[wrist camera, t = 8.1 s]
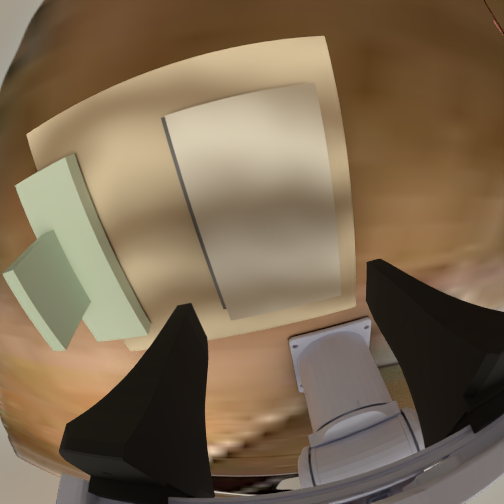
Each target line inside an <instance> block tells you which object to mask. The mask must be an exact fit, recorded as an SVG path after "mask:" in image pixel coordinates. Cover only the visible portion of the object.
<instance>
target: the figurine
mask: <svg viewBox="0 0 504 504" xmlns="http://www.w3.org/2000/svg"><path fill="white" fill-rule="evenodd" d="M484 2H485V0H484ZM485 4H486V2H485ZM486 5H487V4H486ZM487 7H488V5H487ZM488 9H489V7H488ZM489 10H490V9H489ZM490 12H491V10H490ZM491 14H492V12H491ZM492 15H493V14H492ZM493 17H494V15H493ZM494 19H495V17H494ZM495 21H496V22H497V20H496V19H495ZM495 21H494V23H495ZM495 24H496V23H495ZM497 24H498V22H497ZM497 24H496V26H497ZM498 25H499V24H498ZM497 27H498V26H497ZM499 27H500V25H499ZM500 28H501V27H500ZM498 29H499V28H498ZM499 30H500V29H499ZM501 30H502V28H501ZM502 32H503V30H502ZM503 33H504V32H503Z"/></svg>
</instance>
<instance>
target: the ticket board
mask: <svg viewBox="0 0 504 504" xmlns="http://www.w3.org/2000/svg"><path fill="white" fill-rule="evenodd" d="M26 135H27V138H28V142H29V145H30V149H31V152H32V155H33V159H34V162H35V165H36V168H37V171H38V172H39V171H41V170H42V169H44V168H46V167H48V166H50V165H51V164H53V163H55V162H57V161H59V160H61V159H63V158H65V157H67V156H69V155H72V154H75V157H76V160H77V163H78V166H79V169H80V172H81V174H82V177H83V180H84V183H85V186H86V188H87V191H88V194H89V196H90V199H91V201H92V204H93V206H94V209H95V211H96V214H97V216H98V219H99V221H100V223H101V226H102V228H103V230H104V233H105V235H106V237H107V239H108V242H109V244H110V246H111V248H112V250H113V253H114V255H115V257H116V259H117V261H118V263H119V265H120V267H121V269H122V271H123V273H124V275H125V277H126V279H127V281H128V283H129V285H130V287H131V289H132V291H133V293H134V295H135V297H136V298H137V300H138V302H139V304H140V306H141V308H142V310H143V311H144V313H145V315H146V317H147V318H148V320H149V322H150V324H151V327H150V330H149V334H148V335H146V336H139V337H132V338H124V339H122V340H123V341H124V343H125V344H126V346H127V347H128V349H129V350H130V351H138V350H147V349H148V348H149V347H150V346H151V344H152V343H153V341H154V340H155V338H156V337H157V335H158V334H159V332H160V331H161V329H162V328H163V327H164V325H165V323H166V322H167V320H168V319H169V317H170V316H171V314H172V313H173V311H174V310H175V308H176V307H177V305H182V304H187V303H192V305H193V308H194V310H195V312H196V314H197V316H198V319H199V321H200V323H201V325H202V327H203V329H204V332H205V334H206V336H207V340H213V339H218V338H224V337H229V336H234V335H240V334H245V333H250V332H255V331H259V330H264V329H269V328H273V327H278V326H282V325H287V324H291V323H295V322H299V321H303V320H307V319H312V318H316V317H319V316H323V315H327V314H331V313H335V312H338V311H342V310H346V309H349V308H353V307H356V262H355V237H354V221H353V207H352V195H351V185H350V175H349V166H348V158H347V150H346V143H345V136H344V129H343V123H342V117H341V111H340V105H339V100H338V95H337V89H336V84H335V79H334V75H333V70H332V66H331V61H330V57H329V53H328V49H327V45H326V41H325V37H324V36H314V37H301V38H291V39H282V40H275V41H268V42H261V43H255V44H249V45H244V46H239V47H234V48H229V49H225V50H220V51H216V52H212V53H208V54H204V55H200V56H197V57H193V58H190V59H186V60H183V61H180V62H176V63H173V64H170V65H167V66H164V67H161V68H158V69H155V70H153V71H150V72H147V73H145V74H142V75H139V76H137V77H134V78H132V79H129V80H127V81H124V82H122V83H120V84H117V85H115V86H113V87H111V88H108V89H106V90H104V91H102V92H100V93H98V94H96V95H94V96H92V97H90V98H88V99H86V100H84V101H82V102H80V103H78V104H76V105H74V106H72V107H71V108H69V109H67V110H65V111H63V112H62V113H60V114H58V115H56V116H55V117H53V118H51V119H50V120H48V121H46V122H45V123H43V124H42V125H40V126H39V127H37V128H35V129H34V130H32V131H31V132H29V133H28V134H26Z"/></svg>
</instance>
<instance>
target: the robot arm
mask: <svg viewBox="0 0 504 504" xmlns="http://www.w3.org/2000/svg"><path fill="white" fill-rule="evenodd" d="M366 302H367V304H368V306H369V309H370V311H371V314H372V316H373V318H374V320H375V322H376V324H377V326H378V327H379V329H380V331H381V332H382V334H383V336H384V338H385V339H386V341H387V343H388V344H389V346H390V348H391V350H392V351H393V353H394V355H395V357H396V359H397V360H398V362H399V365H400V367H401V369H402V371H403V374H404V376H405V379H406V382H407V384H408V387H409V390H410V393H411V396H412V398H413V401H414V405H415V408H416V410H414V409H411V408H409V407H404V408H402V409H399V407H398V404H397V402H396V401H392V399H391V396H390V394H389V392H388V390H387V387H386V385H385V383H384V381H383V378H382V376H381V374H380V372H379V370H378V367H377V365H376V363H375V361H374V359H373V357H372V355H371V352H370V350H369V343H370V333H371V319H370V318H368V317H367V318H363V319H359V320H356V321H352V322H349V323H345V324H342V325H338V326H334V327H331V328H327V329H323V330H319V331H315V332H311V333H307V334H303V335H299V336H295V337H292V338H290V339H289V346H290V351H291V355H292V360H293V365H294V370H295V375H296V380H297V385H298V390H299V392H304V394H305V399H306V403H307V407H308V412H309V416H310V420H311V425H312V429H313V434H310V435H309V436H308V437H309V442H310V446H306V447H304V448H303V450H302V453H301V454H300V456H299V459H298V473H299V479H300V483H301V486H302V489H299V490H292V491H286V492H280V493H273V494H265V495H256V496H245V497H229V498H214V497H215V494H214V489H213V484H212V478H211V472H210V465H209V458H208V450H207V439H206V426H205V397H206V384H207V371H208V342H207V336H206V334H205V332H204V329H203V327H202V325H201V323H200V321H199V319H198V316H197V314H196V312H195V310H194V308H193V305H192V303H187V304H182V305H177V307H176V308H175V310H174V311H173V313H172V314H171V316H170V317H169V319H168V320H167V322H166V323H165V325H164V327H163V328H162V329H161V331H160V332H159V334H158V335H157V337H156V338H155V340H154V341H153V343H152V344H151V346H150V347H149V348H148V350H147V351H146V352H145V354H144V355H143V356H142V358H141V359H140V360H139V362H138V363H137V364H136V365H135V366H134V368H133V369H132V370H131V371H130V372H129V373H128V374H127V376H126V377H125V378H124V379H123V380H122V381H121V382H120V383H119V384H118V385H117V386H116V387H115V388H113V389H112V390H111V391H110V392H109V393H108V394H107V395H106V396H105V397H104V398H103V399H101V400H100V401H99V402H98V403H96V404H95V405H94V406H93V407H91V408H90V409H89V410H87V411H86V412H84V413H83V414H81V415H80V416H78V417H77V418H75V419H74V420H72V421H71V422H69V423H67V424H66V427H65V431H64V434H63V438H62V441H61V445H60V449H59V453H60V455H61V456H62V457H63V458H64V459H65V460H66V461H67V462H69V463H70V464H72V465H74V466H75V467H77V468H79V469H80V470H82V471H84V472H85V473H87V474H89V475H91V478H90V482H89V481H87V480H84V479H81V478H77V477H74V476H70V475H66V474H61V479H60V484H59V489H58V494H57V500H56V504H466V502H468V501H469V500H471V499H472V498H473V497H475V496H476V495H478V494H479V493H481V492H482V491H484V490H485V489H486V488H488V487H489V486H490V485H491V484H493V483H494V482H495V481H497V480H498V479H499V478H501V477H502V476H503V475H504V312H501V311H497V310H492V309H488V308H484V307H480V306H477V305H474V304H471V303H468V302H465V301H462V300H460V299H457V298H455V297H452V296H450V295H447V294H445V293H443V292H441V291H439V290H437V289H435V288H433V287H430V286H428V285H427V284H425V283H423V282H421V281H419V280H417V279H415V278H414V277H412V276H410V275H408V274H407V273H405V272H403V271H401V270H400V269H398V268H396V267H394V266H393V265H391V264H389V263H387V262H386V261H384V260H382V259H377V260H373V261H369V262H367V283H366ZM441 461H442V462H441ZM439 462H440V463H439ZM437 463H438V464H437ZM435 464H437V465H435Z"/></svg>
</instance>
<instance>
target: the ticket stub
mask: <svg viewBox="0 0 504 504" xmlns="http://www.w3.org/2000/svg"><path fill="white" fill-rule="evenodd" d="M15 187H16V190H17V192H18V195H19V198H20V200H21V203H22V205H23V208H24V210H25V213H26V215H27V217H28V220H29V222H30V224H31V227H32V229H33V231H34V233H35V235H36V238H37V240H36V241H35V242H34V243H33V244H32V245H31V246H29V247H28V248H27V249H26V250H25V251H24V252H23V253H22V254H21V255H20V256H19V257H18V258H17V259H16V260H15V261H14V262H13V263H12V264H11V265H10V266H9V267H8V269H7V270H6V271H5V272H4V273H3V276H4V278H5V280H6V281H7V283H8V285H9V287H10V288H11V290H12V292H13V293H14V295H15V296H16V298H17V300H18V301H19V303H20V304H21V306H22V308H23V309H24V311H25V312H26V314H27V315H28V317H29V318H30V320H31V321H32V322H33V324H34V325H35V327H36V328H37V329H38V331H39V332H40V334H41V335H42V336H43V338H44V339H45V340H46V342H47V343H48V344H49V345H50V347H51V348H52V349H53V351H63V350H66V349H67V347H68V345H69V343H70V341H71V339H72V337H73V335H74V333H75V331H76V329H77V327H78V325H79V323H80V321H81V319H83V321H84V322H85V324H86V325H87V327H88V328H89V330H90V331H91V333H92V334H93V335H94V337H95V338H96V340H97V341H98V342H100V341H109V340H117V339H124V338H132V337H139V336H146V335H148V334H149V330H150V327H151V324H150V322H149V320H148V318H147V317H146V315H145V313H144V311H143V310H142V308H141V306H140V304H139V302H138V300H137V298H136V297H135V295H134V293H133V291H132V289H131V287H130V285H129V283H128V281H127V279H126V277H125V275H124V273H123V271H122V269H121V267H120V265H119V263H118V261H117V259H116V257H115V255H114V253H113V250H112V248H111V246H110V244H109V242H108V239H107V237H106V235H105V233H104V230H103V228H102V226H101V223H100V221H99V219H98V216H97V214H96V211H95V209H94V206H93V204H92V201H91V199H90V196H89V194H88V191H87V188H86V186H85V183H84V180H83V177H82V174H81V172H80V169H79V166H78V163H77V160H76V157H75V154H72V155H69V156H67V157H65V158H63V159H61V160H59V161H57V162H55V163H53V164H51V165H50V166H48V167H46V168H44V169H42V170H41V171H39V172H37V173H35V174H34V175H32V176H30V177H29V178H27V179H25V180H24V181H22V182H20V183H19V184H17V185H16V186H15Z"/></svg>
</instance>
